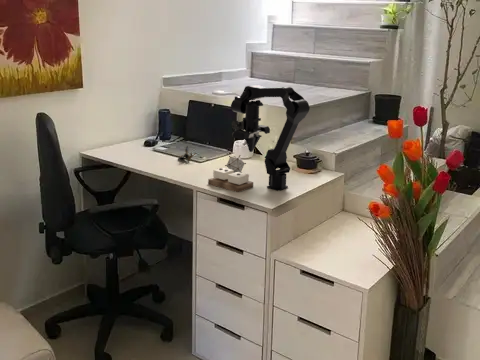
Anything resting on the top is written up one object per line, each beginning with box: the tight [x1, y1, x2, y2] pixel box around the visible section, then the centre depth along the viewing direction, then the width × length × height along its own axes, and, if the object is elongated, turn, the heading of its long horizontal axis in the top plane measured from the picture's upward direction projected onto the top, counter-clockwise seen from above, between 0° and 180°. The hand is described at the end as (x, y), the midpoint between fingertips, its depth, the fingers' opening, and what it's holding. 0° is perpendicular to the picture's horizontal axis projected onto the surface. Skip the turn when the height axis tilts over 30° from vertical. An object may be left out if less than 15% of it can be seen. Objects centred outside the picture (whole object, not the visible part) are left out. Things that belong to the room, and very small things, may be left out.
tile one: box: [228, 172, 250, 185], centre depth 236 cm, size 6×6×3 cm
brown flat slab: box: [207, 177, 254, 193], centre depth 239 cm, size 16×10×2 cm, turn 51°
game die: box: [224, 154, 247, 173], centre depth 256 cm, size 9×8×10 cm
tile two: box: [212, 166, 234, 180], centre depth 241 cm, size 6×6×3 cm
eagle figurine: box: [177, 145, 197, 163], centre depth 274 cm, size 8×7×9 cm
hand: (250, 151), depth 246 cm, fingers closed
